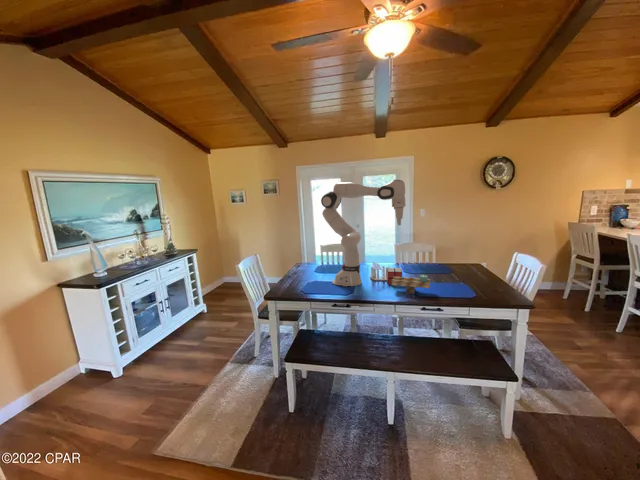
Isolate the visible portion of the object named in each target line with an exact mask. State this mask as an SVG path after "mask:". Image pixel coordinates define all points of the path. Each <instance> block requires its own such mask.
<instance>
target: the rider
mask: <svg viewBox="0 0 640 480" xmlns="http://www.w3.org/2000/svg"><path fill="white" fill-rule="evenodd" d="M419 278H420V282H427V279H428V274H427V275H425V274H420V275H419Z"/></svg>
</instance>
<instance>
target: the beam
mask: <svg viewBox="0 0 640 480" xmlns="http://www.w3.org/2000/svg"><path fill="white" fill-rule="evenodd" d="M391 286H399V287H400V286H401V287H405V288H406V289H405V291H406V292H405V294H406V295H415V292H416V288H424V289H431V279H430V278H427V282H420V277H419V278H417V277H405V276H404V277H403V276H402V277H393V280H392V285H391Z"/></svg>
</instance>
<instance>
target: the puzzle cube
mask: <svg viewBox="0 0 640 480" xmlns="http://www.w3.org/2000/svg"><path fill="white" fill-rule="evenodd" d="M386 269H387V271H386V272H387V273H386V274H387V276H386V277H387V279H386V280H387V285H391V286H393V285H392V280H393V277H403V271H402V268H401V267H387V268H386Z"/></svg>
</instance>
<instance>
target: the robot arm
mask: <svg viewBox="0 0 640 480" xmlns="http://www.w3.org/2000/svg"><path fill="white" fill-rule="evenodd" d="M405 185H406V183H405V182H404V181H403V180H401V179H392V180H391V181H390V182H388V183H386V184H384V185H382V186H380V187H376V186H367V185H363V184H359V183H355V182H348V181H347V182H343V181H342V182H337V183H335V184H334V186H333V191H328V192H327V193H325V194H324V195H322V197H321V200H320V203H321V205H322V206H323V207H324V209H323V210H322V216H323V218H324V220H325V221H326V223H327V224H328V225H329V227H330V228H331V230H333V232H334V233H336V234H337V235H339V236H340V237H341V240H340V242H341V243H340V244H341V247H342V249H343V256H344V263H343V264H342V266H341V270H340V271H338V272H337V273H336V274H335V278H334V279H332V282H331V283H333V284H332V285H336V286H341V285H342V287H347V286H351V287H356V286H360V285H361V284H363V282H362V278H361V264H360V254H359V250H358V244H359V243H360V242H361V234H360V233H359V232H358V231H356V230H355V229H354V228H353V227H352V226H351V225H350V224H349V223H348V222H346V220H345V219H344V217H343V216H341V214H340V213H339V212H338V210H337V209H338V208H339V207H340V205H341V203H342V199H345V198H346V199H354V198H355V199H357V198H362V197H365V196H366V197H368V196H372V197H378V198H379V199H380V200H383V201H386V200H387V201H388V200H389V201H390V200H391V207H392V208H393V210H394V211H395V218H396V221H397V222H396V223H397V226H401V225H402V223H401V222H402V219H403V216H404V208H405V207H406V186H405Z"/></svg>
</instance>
